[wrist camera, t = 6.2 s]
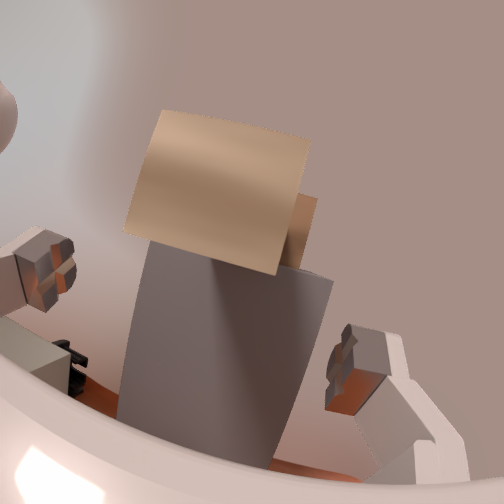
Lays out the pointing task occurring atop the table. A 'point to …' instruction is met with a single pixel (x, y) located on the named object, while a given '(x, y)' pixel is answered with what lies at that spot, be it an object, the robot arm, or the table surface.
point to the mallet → (224, 192)
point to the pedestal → (218, 352)
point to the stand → (35, 354)
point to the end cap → (75, 376)
